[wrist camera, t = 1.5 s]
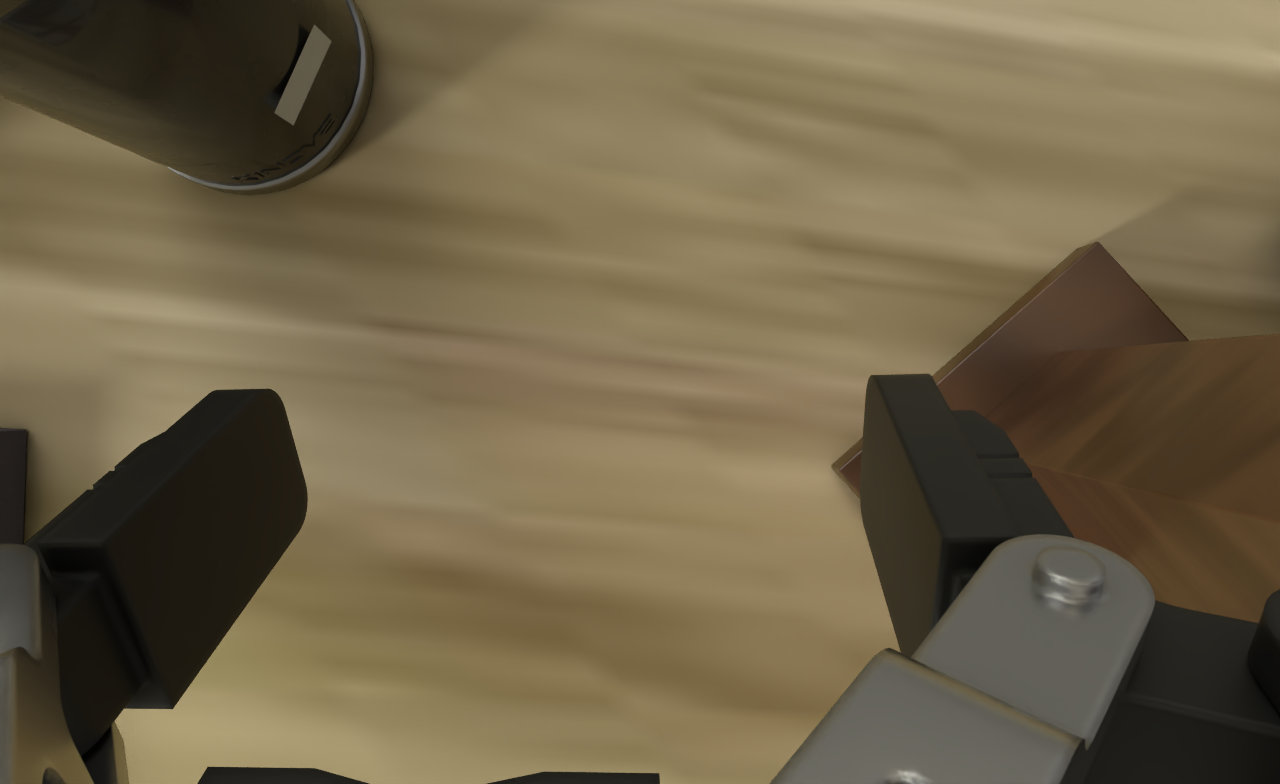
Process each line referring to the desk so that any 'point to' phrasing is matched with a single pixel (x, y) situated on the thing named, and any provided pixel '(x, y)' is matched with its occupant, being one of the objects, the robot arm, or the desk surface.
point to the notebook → (12, 484)
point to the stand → (1135, 431)
